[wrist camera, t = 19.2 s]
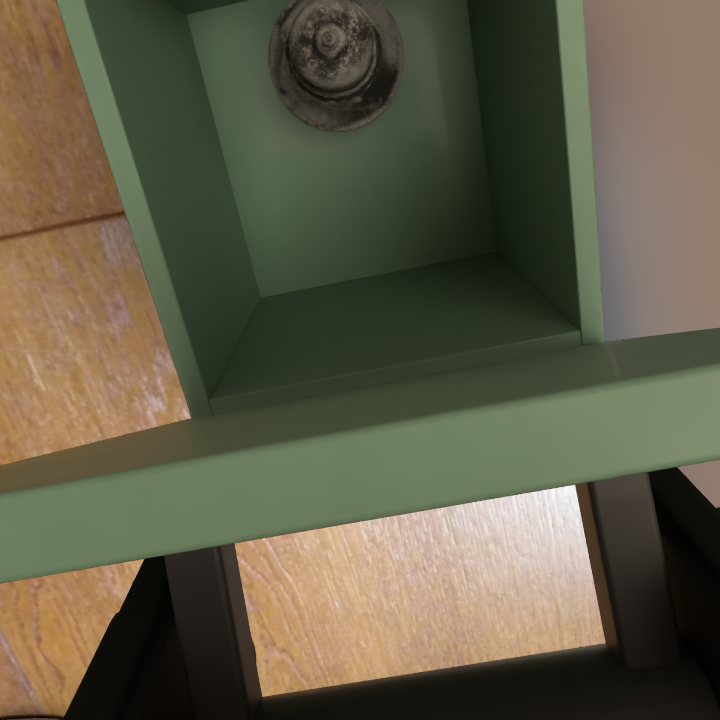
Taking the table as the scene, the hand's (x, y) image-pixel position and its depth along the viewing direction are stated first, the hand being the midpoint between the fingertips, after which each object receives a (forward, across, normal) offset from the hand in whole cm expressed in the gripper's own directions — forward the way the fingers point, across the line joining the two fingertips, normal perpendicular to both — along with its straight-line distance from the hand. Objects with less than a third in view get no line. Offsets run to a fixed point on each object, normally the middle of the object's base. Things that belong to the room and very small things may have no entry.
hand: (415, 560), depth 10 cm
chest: (+26, 0, -6) cm, 27 cm away
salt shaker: (+25, 0, -9) cm, 27 cm away
